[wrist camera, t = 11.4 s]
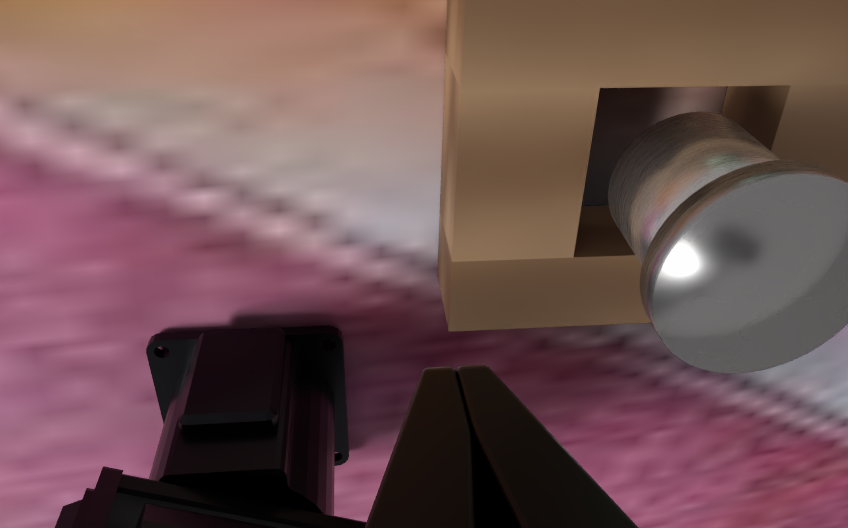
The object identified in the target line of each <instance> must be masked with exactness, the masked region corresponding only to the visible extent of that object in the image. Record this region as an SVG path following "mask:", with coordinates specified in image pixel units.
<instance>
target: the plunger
mask: <svg viewBox="0 0 848 528" xmlns="http://www.w3.org/2000/svg"><path fill="white" fill-rule="evenodd" d="M608 204H609V209H610V213H611V215H612V218H613V220H614V222H615V223H616V225H617V227H618V228H619V230H620V231H621V233H622V235H623V236H624V238H625V239H626V241H627V243H628V244H629V246H630V247H631V249H632V250H633V252H634V254H635V255H636V257H637V258H638V260H639V261H640V263H641V265H642V268H641V275H640V295H641V300H642V304H643V307H644V309H645V312H646V314H647V316H648V318H649V319H650V321H651V323H652V324H653V326H654V328H655V330H656V331H657V333H658V335H659V336H660V338H661V340H662V341H663V343H664V345H665V346H666V347H667V348H668V349H669V350H670V351H671V352H672V353H673V354H674V355H675V356H677V357H678V358H679V359H680V360H682V361H684V362H686V363H688V364H689V365H692V366H694V367H697V368H700V369H703V370H707V371H712V372H719V373H745V372H754V371H759V370H764V369H768V368H771V367H775V366H778V365H781V364H784V363H787V362H789V361H792V360H794V359H796V358H798V357H800V356H802V355H805V354H807V353H809V352H810V351H812V350H814V349H815V348H817V347H819V346H820V345H822V344H823V343H825V342H826V341H827V340H829V339H830V338H832V337H833V336H834V335H836V334H837V333H838V332H839V331H840V330H841V329H843V328H844V327H845V326H846V325H847V324H848V182H847V181H846V180H845V179H844V178H842V177H841V176H840V175H838V174H837V173H835V172H834V171H832V170H830V169H828V168H826V167H824V166H821V165H818V164H815V163H811V162H805V161H800V160H780V159H779V158H778V157H777V156H776V155H775V154H773V153H772V152H771V151H770V150H769V149H767V148H766V147H765V146H764V145H763V144H761V143H760V142H759V141H758V140H757V139H756V138H754V137H753V136H752V135H751V134H750V133H748V132H747V131H746V130H745V129H744V128H743V127H741V126H740V125H739V124H737V123H736V122H735V121H733V120H731V119H730V118H728V117H725V116H722V115H720V114H716V113H710V112H690V113H684V114H680V115H676V116H673V117H670V118H667V119H665V120H663V121H661V122H659V123H657V124H655V125H653V126H652V127H650V128H649V129H647V130H646V131H644V132H643V133H642V134H640V135H639V136H638V137H637V138H636V139H635V140H634V141H633V142H632V143H631V144H630V145H629V146H628V147H627V149H626V150H625V151H624V153H623V154H622V155H621V157H620V158H619V160H618V162H617V164H616V166H615V167H614V170H613V173H612V175H611V179H610V183H609V188H608Z"/></svg>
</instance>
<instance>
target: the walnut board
mask: <svg viewBox="0 0 848 528" xmlns="http://www.w3.org/2000/svg"><path fill="white" fill-rule="evenodd" d="M706 86H728V88H727V92H726V96H725V100H724V104H723V108H722V112H721V115H722V116H725V117H728V118H730V119H731V120H733V121H735V122H736V123H737V124H739V125H740V126H741V127H743V128H744V129H745V130H746V131H747V132H748V133H750V134H751V135H752V136H753V137H754V138H756V139H757V140H758V141H759V142H760V143H761V144H763V145H764V146H765V147H766V148H767V149H769V150H770V151H771V152H772V153H773V154H775V155H776V156H777V157H778V158H779V159H780V160H800V161H805V162H811V163H815V164H818V165H821V166H824V167H826V168H828V169H830V170H832V171H834V172H835V173H837V174H838V175H840V176H841V177H842V178H844V179H845V180H846V181H847V182H848V0H448V1H447V29H446V56H445V84H444V112H443V139H442V167H441V195H440V223H439V250H438V281H439V286H440V291H441V296H442V301H443V306H444V311H445V316H446V321H447V326H448V331H449V332H452V331H475V330H497V329H519V328H542V327H564V326H586V325H608V324H631V323H651V321H650V319H649V318H648V316H647V314H646V312H645V309H644V307H643V304H642V300H641V295H640V275H641V268H642V265H641V263H640V261H639V260H638V258H637V257H636V255H635V254H634V252H633V250H632V249H631V247H630V246H629V244H628V243H627V241H626V239H625V238H624V236H623V235H622V233H621V231H620V230H619V228H618V227H617V225H616V223H615V222H614V220H613V218H612V215H611V213H610V209H609V205H604V206H582V199H583V193H584V187H585V180H586V174H587V168H588V161H589V155H590V148H591V142H592V136H593V129H594V123H595V117H596V110H597V104H598V97H599V91H600V88H637V87H706Z"/></svg>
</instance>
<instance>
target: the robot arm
mask: <svg viewBox="0 0 848 528" xmlns="http://www.w3.org/2000/svg"><path fill="white" fill-rule="evenodd" d="M324 339H332V340H333V342H331V343H325V342H323V340H324ZM159 346H162V347H166V348H167V349H168V350H166V351H165V350H161V349H159V348H158V347H159ZM146 353H147V357H148V361H149V366H150V370H151V374H152V378H153V382H154V386H155V390H156V394H157V398H158V402H159V406H160V410H161V415H162V419H163V423H164V426H163V430H162V433H161V437H160V441H159V444H158V448H157V451H156V455H155V459H154V462H153V466H152V470H151V473H150V477H149V479H145V478H140V477H135V476H130V475H125V474H122V472H123V470H119V469H114V468H109V467H104V466H103V468H102V471H101V474H100V476H99V479H98V482H97V484H96V487H95V489H90V488H87V489H86V492H85V494H84V497H83V499H82V500H79V501H77V502H74V503H71V504H68V505H66V506H63V508H62V511H61V513H60V516H59V518H58V521H57V524H56V526H55V528H638V527H637V526H636V525H635V523H634V522H633V521H632V520H631V519H630V518H629V517H628V516H627V515H626V514H625V513H624V512H623V511H622V510H621V508H620V507H619V506H618V505H617V504H616V503H615V502H614V501H613V500H612V499H611V498H610V497H609V496H608V495H607V493H606V492H605V491H604V490H603V489H602V488H601V487H600V486H599V485H598V484H597V483H596V482H595V481H594V480H593V478H592V477H591V476H590V475H589V474H588V473H587V472H586V471H585V470H584V469H583V468H582V467H581V466H580V465H579V463H578V462H577V461H576V460H575V459H574V458H573V457H572V456H571V455H570V454H569V453H568V452H567V451H566V450H565V448H564V447H563V446H562V445H561V444H560V443H559V442H558V441H557V440H556V439H555V438H554V437H553V436H552V435H551V433H550V432H549V431H548V430H547V429H546V428H545V427H544V426H543V425H542V424H541V423H540V422H539V421H538V420H537V418H536V417H535V416H534V415H533V414H532V413H531V412H530V411H529V410H528V409H527V408H526V407H525V406H524V405H523V403H522V402H521V401H520V400H519V399H518V398H517V397H516V396H515V395H514V394H513V393H512V392H511V391H510V390H509V388H508V387H507V386H506V385H505V384H504V383H503V382H502V381H501V380H500V379H499V378H498V377H497V376H496V375H495V373H494V372H493V371H492V370H491V369H490V368H489V367H487V366H485V365H469V366H459V367H457V368H456V370H454V369H453V368H452V367H429V368H425V369H423V371H422V372H421V375H420V378H419V380H418V383H417V386H416V389H415V391H414V394H413V397H412V400H411V402H410V405H409V408H408V411H407V413H406V416H405V419H404V422H403V424H402V427H401V430H400V433H399V435H398V438H397V441H396V443H395V446H394V449H393V452H392V454H391V457H390V460H389V463H388V465H387V468H386V471H385V474H384V476H383V479H382V482H381V485H380V487H379V490H378V493H377V495H376V498H375V501H374V504H373V506H372V509H371V512H370V515H369V517H368V520H367V522H363V521H358V520H353V519H348V518H342V517H337V516H334V466H337V465H341V464H343V463H345V462H346V461H347V460H348V457H349V445H348V426H347V407H346V388H345V369H344V350H343V336H342V332H341V331H340V330H339V329H338V328H335V327H333V326H311V327H288V328H262V329H239V330H216V331H196V332H173V333H159V334H155V335H154V336H152V337H151V339H150V340H149V343H148V346H147V349H146ZM334 452H339V453H334Z"/></svg>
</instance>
